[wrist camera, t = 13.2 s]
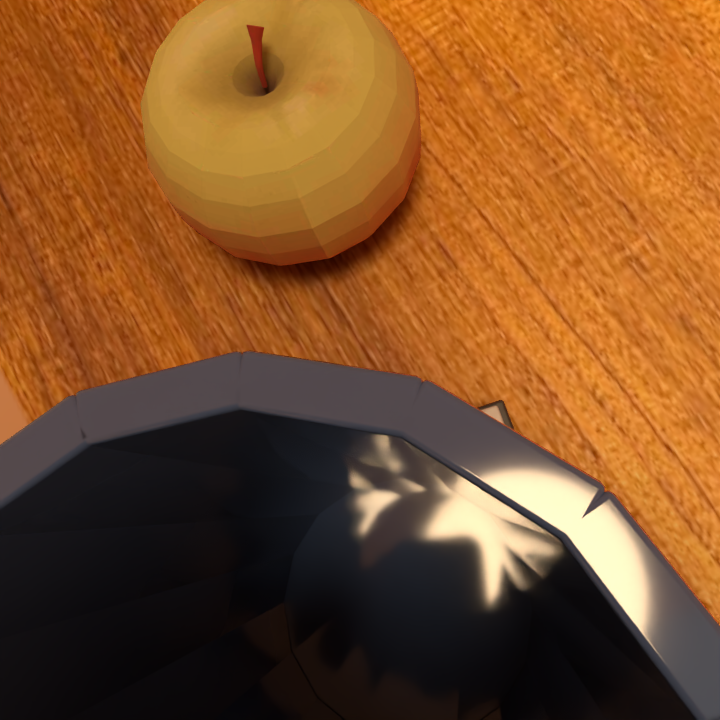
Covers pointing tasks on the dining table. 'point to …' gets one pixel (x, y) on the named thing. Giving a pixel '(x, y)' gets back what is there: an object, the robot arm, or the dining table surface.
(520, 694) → the cup
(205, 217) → the apple
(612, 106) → the dining table surface
